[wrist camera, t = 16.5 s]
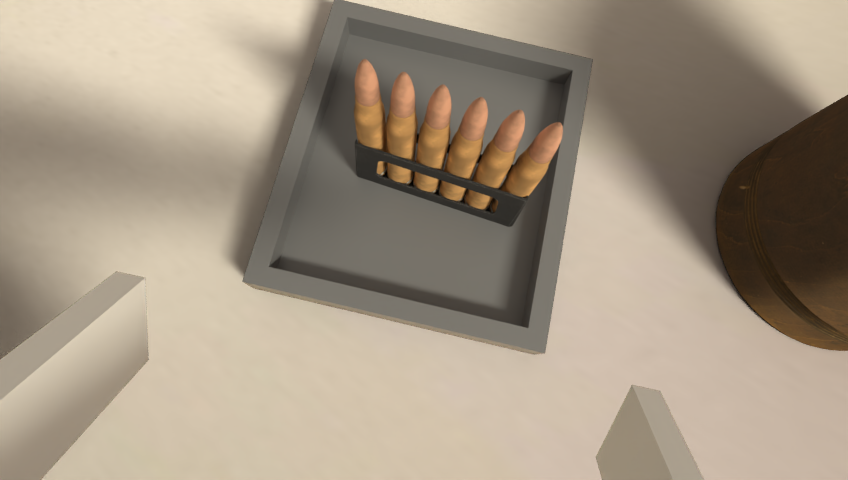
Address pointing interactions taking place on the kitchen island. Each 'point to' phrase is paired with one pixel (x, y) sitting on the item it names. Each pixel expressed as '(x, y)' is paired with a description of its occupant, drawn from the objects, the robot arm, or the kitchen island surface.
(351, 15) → the tray
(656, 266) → the kitchen island surface
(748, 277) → the wooden container
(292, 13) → the kitchen island surface
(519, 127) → the ammunition clip
